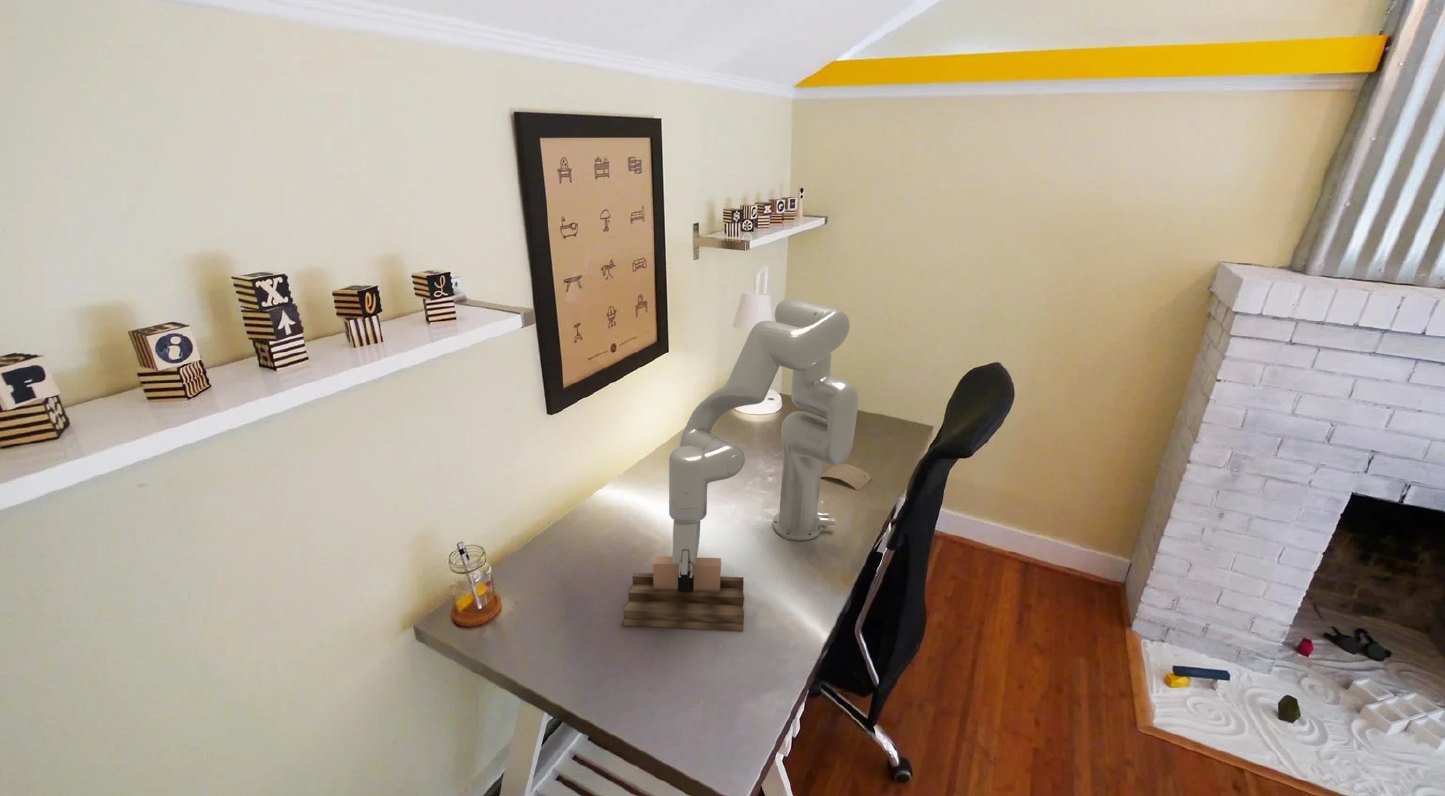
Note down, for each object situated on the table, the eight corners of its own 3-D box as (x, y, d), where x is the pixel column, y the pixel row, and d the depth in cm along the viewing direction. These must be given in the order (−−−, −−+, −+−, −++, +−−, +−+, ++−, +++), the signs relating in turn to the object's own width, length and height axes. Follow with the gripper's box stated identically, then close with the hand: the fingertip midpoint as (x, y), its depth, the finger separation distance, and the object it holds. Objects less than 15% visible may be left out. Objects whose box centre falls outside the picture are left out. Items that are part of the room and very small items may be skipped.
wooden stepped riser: (742, 589, 129) (743, 576, 128) (743, 630, 118) (744, 617, 117) (634, 584, 130) (633, 571, 128) (623, 625, 118) (623, 611, 117)
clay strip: (719, 589, 127) (720, 558, 124) (719, 597, 125) (720, 565, 122) (655, 586, 127) (654, 556, 124) (653, 594, 125) (653, 563, 122)
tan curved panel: (873, 480, 177) (875, 472, 176) (861, 494, 170) (862, 486, 169) (829, 466, 185) (830, 458, 184) (815, 478, 177) (816, 471, 176)
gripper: (673, 483, 126) (673, 553, 133) (664, 531, 110) (664, 607, 116) (708, 485, 126) (707, 554, 132) (704, 532, 110) (702, 608, 116)
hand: (687, 578), depth 124 cm, fingers open, 7 cm apart
